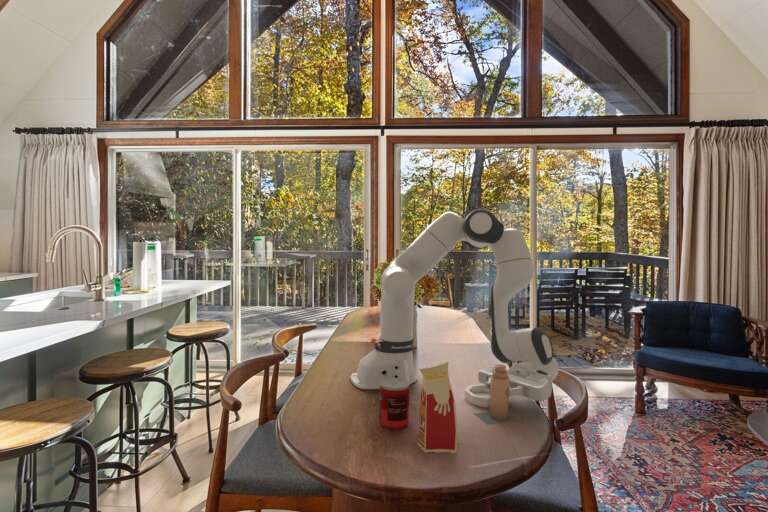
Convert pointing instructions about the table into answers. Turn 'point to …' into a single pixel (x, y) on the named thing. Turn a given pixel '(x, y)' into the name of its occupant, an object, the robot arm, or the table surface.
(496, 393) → the tan knobbed cylinder
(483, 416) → the felt mat
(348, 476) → the table surface
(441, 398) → the milk carton
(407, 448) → the table surface
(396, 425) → the canned food
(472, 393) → the bowl
